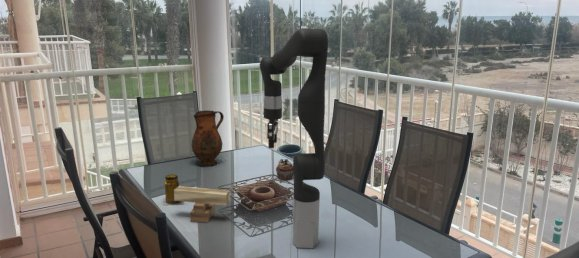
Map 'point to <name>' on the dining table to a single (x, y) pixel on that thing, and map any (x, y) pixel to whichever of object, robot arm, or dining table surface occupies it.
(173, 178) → the condiment
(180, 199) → the batten
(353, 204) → the dining table surface
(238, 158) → the dining table surface
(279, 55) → the robot arm
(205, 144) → the pitcher
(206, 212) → the stair steps
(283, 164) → the cupcake
